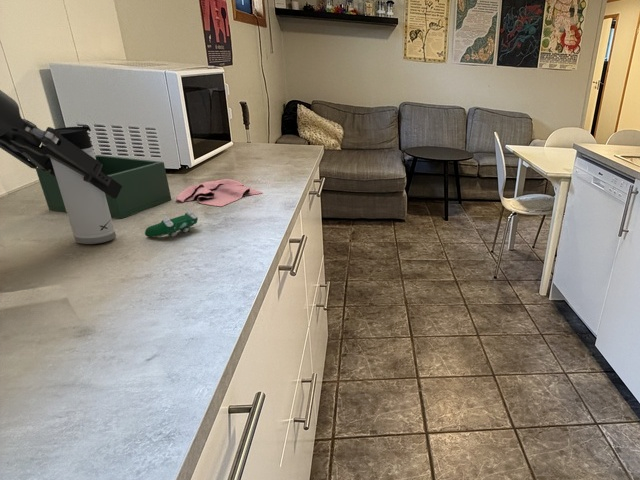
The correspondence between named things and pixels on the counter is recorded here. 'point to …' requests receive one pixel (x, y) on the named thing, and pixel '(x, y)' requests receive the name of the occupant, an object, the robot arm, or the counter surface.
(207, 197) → the cloth
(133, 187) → the tote
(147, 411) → the counter surface
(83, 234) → the travel mug
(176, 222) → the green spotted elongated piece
